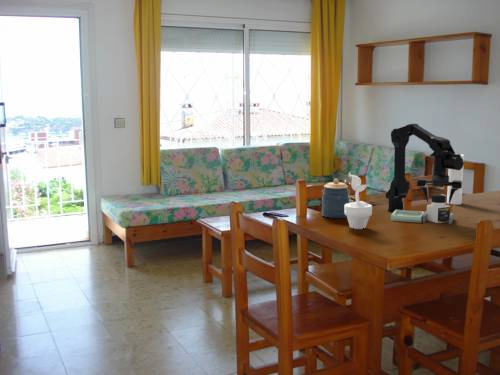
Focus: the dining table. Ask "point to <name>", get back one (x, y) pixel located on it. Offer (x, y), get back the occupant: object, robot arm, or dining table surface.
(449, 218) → the dock
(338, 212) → the canister
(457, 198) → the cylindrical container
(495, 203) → the dining table surface
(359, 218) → the potted plant
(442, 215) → the medicine bottle
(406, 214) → the tray
